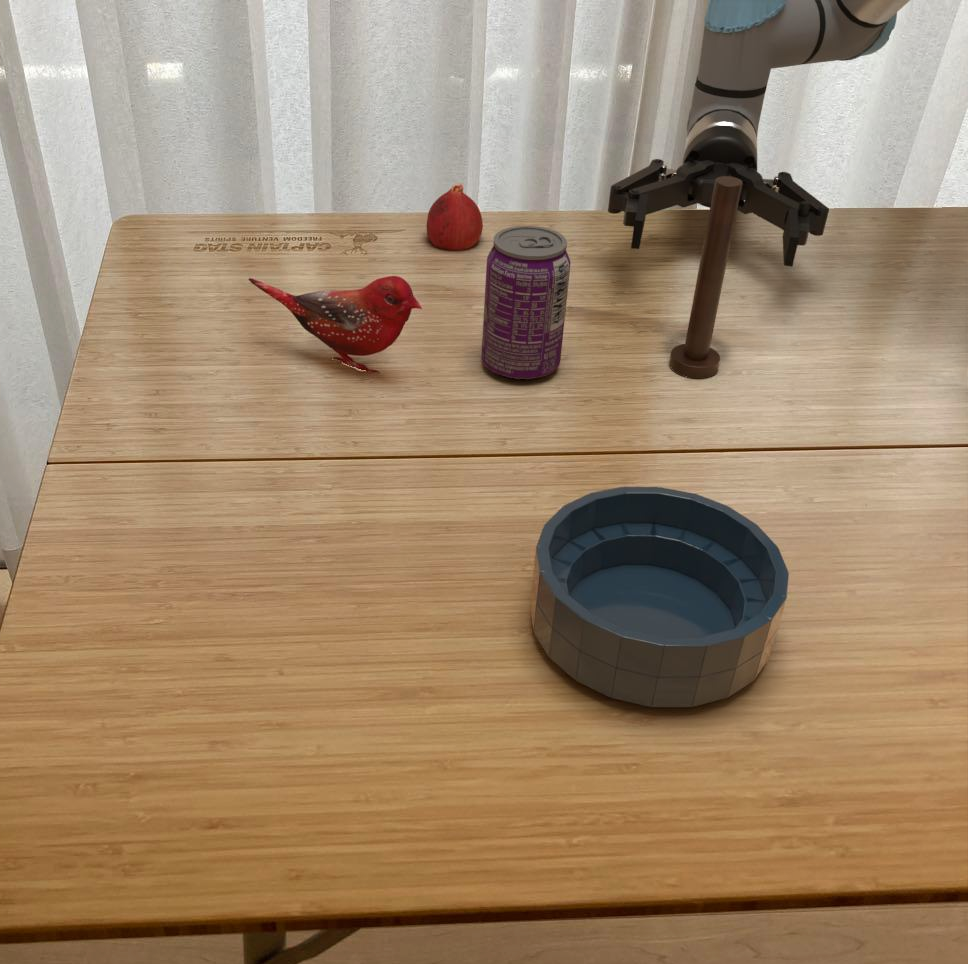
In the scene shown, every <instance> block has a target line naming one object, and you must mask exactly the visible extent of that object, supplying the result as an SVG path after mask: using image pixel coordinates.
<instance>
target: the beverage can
mask: <svg viewBox="0 0 968 964" xmlns="http://www.w3.org/2000/svg"><path fill="white" fill-rule="evenodd" d="M567 246H568V240H567V237H565V236H564V235H563V234H562V233H561V232H558V231H557V230H554V229H551V228H548V227H544V226H537V225H516V226H509V227H506V228H502V229H501V230H499V231H497V233H495V234H494V236H493V246H492V248H491V249H490V250H489V252H488V255H487V258H486V270H485V286H484V287H485V288H484V303H483V304H484V306H483V322H482V340H481V355H480V357H481V358H480V359H481V361H482V363H483V365H484V366H485V367H486V368H487V369H489V371H491V372H493V373H495V374H497V375H500V376H503V377H505V376H506V377H505V378H508V377H509V378H508V379H512V378H514V379H513V380H520V379H526V380H532V379H538V378H543V377H545V376H548V375H550V374H552V373H553V372H555V371H556V370H557V369H558V368H559V367H560V364H561V358H562V350H563V341H564V338H563V337H564V330H565V321H566V310H567V301H568V292H569V284H570V283H569V282H570V272H571V259H570V257H569V254H568V252H567Z"/></svg>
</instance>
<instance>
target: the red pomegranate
mask: <svg viewBox="0 0 968 964" xmlns="http://www.w3.org/2000/svg"><path fill="white" fill-rule="evenodd" d="M483 228H484V224H483V217H482V213H481V210H480V208H479V206H478V205H477V203H476V202H475V201H474V200H473V199H472V198H471V197H470V196H469V195H467V194H466V193H464V186H463V184H462V183H461V182H460V183H454V185H452V186H451V188H450V189H449V190H448V191H446V192H445V193H443V194H442V195H440V196H439V197H438V198H437V199H436V200H435V201H434V202H433V203H432V205H431V206H430V207H429V210H428V213H427V219H426V235H427V237H428V239H429V241H430V242H431V244H432V245H433V246H434V247H436V248H439V249H442V250H446V251H463V250H468V249H471V248H472V247H474V246H475V245H476V244H477V243H478V241H479V239H480V238H481V236H482V233H483Z"/></svg>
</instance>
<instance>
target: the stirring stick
mask: <svg viewBox="0 0 968 964" xmlns="http://www.w3.org/2000/svg"><path fill="white" fill-rule="evenodd" d="M742 184H743V182H742V181H741V180H740V179H738V178H735V177H730V176H722V177H718V178H716V179H715V184H714V189H713V195H712V200H711V206H710V208H709V211H708V218H707V221H706V222H707V223H706V228H705V234H704V239H703V244H702V249H701V255H700V261H699V265H698V271H697V272H698V273H697V277H696V281H695V282H696V283H695V288H694V292H693V293H694V294H693V299H692V304H691V309H690V314H689V319H688V326H687V331H686V337H685V343H681V344H678V345H676V346H673V348H672V349H671V350H670V356H669V361H668V363H669V362H670V366H671V367H672V369H673V370H674V371H675V372H674V371H673V370H672V369H671V370H672V371H673V372H674V373H676V372H677V373H679V374H681V375H680V376H682V375H684V376H687V377H686V378H688V377H691V378H690V379H696V378H701V379H708V378H711V377H713V376H715V375H717V373H718V371H719V367H720V362H721V355H720V354H719V352H718V351H717V350H715V349H714V348H712V347H711V343H712V338H713V335H714V334H713V333H714V330H715V329H714V328H715V323H716V320H717V319H716V318H717V315H718V309H719V304H720V299H721V293H722V288H723V283H724V280H725V279H724V278H725V274H726V269H727V263H728V260H729V259H728V258H729V253H730V249H731V243H732V239H733V234H734V228H735V224H736V219H737V214H738V210H737V209H738V204H739V199H740V194H741V189H742ZM670 366H669V367H670ZM677 373H676V374H677ZM679 374H678V375H679ZM714 374H715V375H714ZM684 376H683V377H684Z"/></svg>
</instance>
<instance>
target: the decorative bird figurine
mask: <svg viewBox="0 0 968 964" xmlns="http://www.w3.org/2000/svg"><path fill="white" fill-rule="evenodd" d="M248 281H249V282H250V283H251V284H252V285H253V286H255V287H256V288H258V289H259V290H260V291H262V292H264V293H265V294H267V295H268V296H270V297H271V298H273V299H275V300H276V301H278V302H279V303H280V304H282V305H283V307H285V308H286V309H287V310H288V311H290V313H291V314H292V315H293V316H294V318H295V319H296V320H297V322H298V323H299V324H300V325H301V327H302V328H303V329H304V330H305V331H306V332H307V333H310V334H311V335H312V336H314V337H315V338H317V339H318V340H319V341H320V342H322V343H324V344H325V346H327V347H329V348H330V349H332V350H333V351H334V352H335V353H336V354H337V355H339V356H334V357H332V358H333V359H337V360H336V361H338V360H339V362H343V363H345V364H347V365H349V366H352V367H356V368H358V369H361V370H366V371H367V372H368V371H370V372H369V373H375V374H379V375H380V374H381V371H379V370H376V369H372V368H369V367H368V366H366V364H363V363H360V362H357V361H355V360H354V359H353V358H352V357H351V356H354V357H355V356H358V357H366V356H371V355H375V354H378V353H380V352H383V351H385V350H386V349H387V348H389V347H391V346H392V345H393V344H394V343H395V342H396V340H397V339H398V338H399V337H400V336H401V334H402V331H403V329H404V327H405V325H406V323H407V322H409V319H410V316H411V314H412V309H420V310H423V308H422V306H421V304H420V302H419V301H418V300H417V298H416V297H415V295H414V292H413V289H412V287H411V285H410V284H409V282H408V281H407V280H406V279H404V278H402V277H401V276H397V275H390V276H389V275H388V276H384V277H380V278H377V279H374V280H373V281H371V282H370V283H368V284H367V285H366V286H364V287H362V288H358V289H348V290H347V289H345V290H344V289H339V290H337V289H330V290H319V291H313V292H308V293H307V292H306V293H303V294H299V295H294V294H292V293H290V292H289V293H288V292H286V291H284V290H282V289H279V288H277V287H274V286H272V285H270V284H267V283H265V282H262V281H260V280H257V279H255V278H251V277H249V278H248Z"/></svg>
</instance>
